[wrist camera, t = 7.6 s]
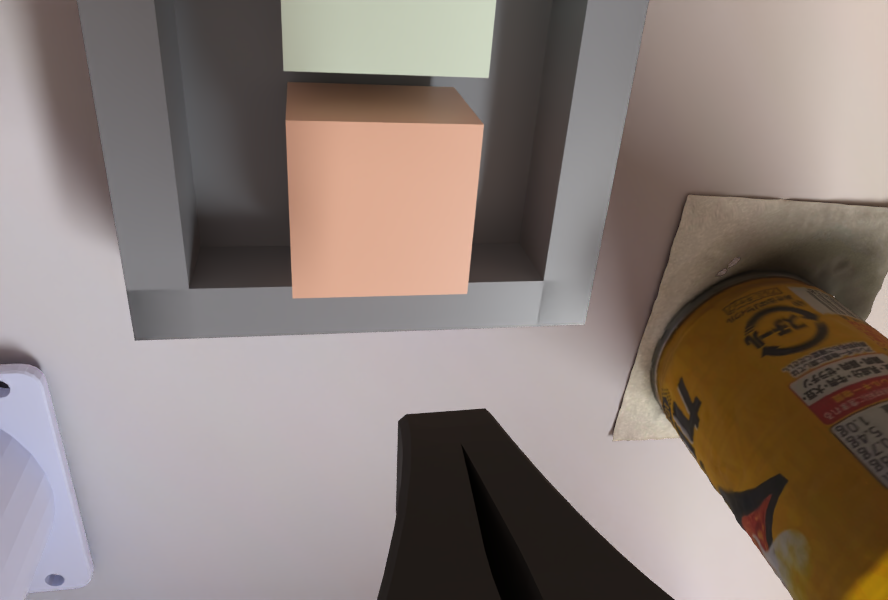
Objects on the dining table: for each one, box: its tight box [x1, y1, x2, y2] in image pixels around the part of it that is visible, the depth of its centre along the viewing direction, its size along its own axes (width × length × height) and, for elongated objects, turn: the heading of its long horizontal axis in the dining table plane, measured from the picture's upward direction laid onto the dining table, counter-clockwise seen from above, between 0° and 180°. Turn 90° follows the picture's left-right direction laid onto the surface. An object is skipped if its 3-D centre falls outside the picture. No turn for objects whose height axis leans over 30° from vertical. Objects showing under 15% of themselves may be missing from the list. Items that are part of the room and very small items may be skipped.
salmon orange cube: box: [286, 82, 484, 298], centre depth 14 cm, size 3×3×3 cm
